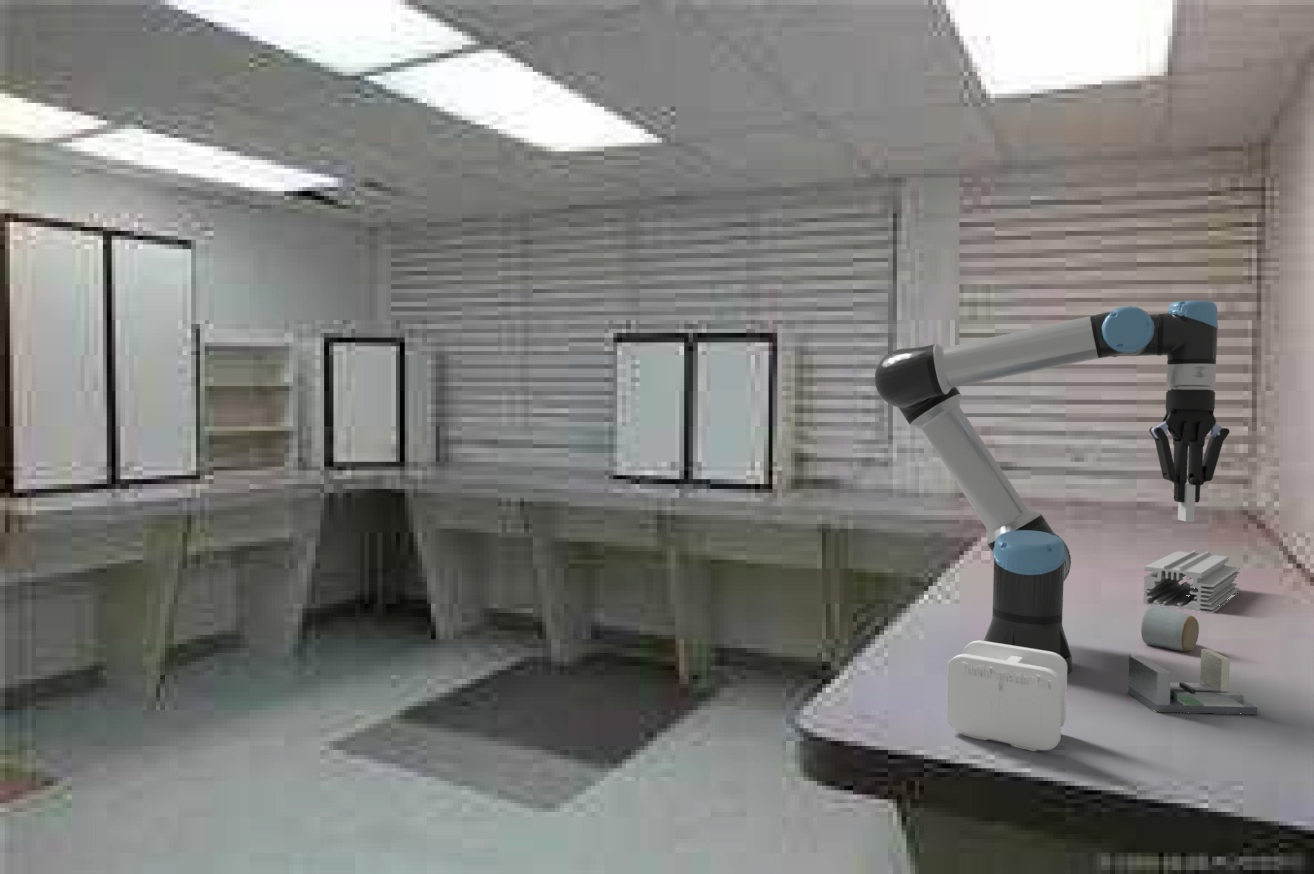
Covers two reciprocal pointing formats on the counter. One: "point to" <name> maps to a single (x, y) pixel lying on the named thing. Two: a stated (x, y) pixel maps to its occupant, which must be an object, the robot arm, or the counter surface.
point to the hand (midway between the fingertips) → (1185, 520)
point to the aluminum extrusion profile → (1207, 580)
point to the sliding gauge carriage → (1207, 675)
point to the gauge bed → (1178, 693)
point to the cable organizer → (1007, 694)
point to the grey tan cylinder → (1169, 629)
